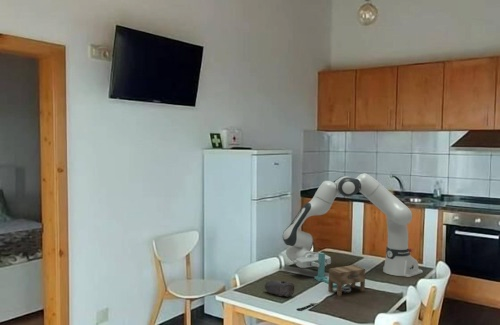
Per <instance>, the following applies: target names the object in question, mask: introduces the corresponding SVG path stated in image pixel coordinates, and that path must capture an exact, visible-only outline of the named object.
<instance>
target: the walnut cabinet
mask: <svg viewBox="0 0 500 325" xmlns="http://www.w3.org/2000/svg"><path fill="white" fill-rule="evenodd" d="M328 280H329V284H328V286H327V288H328V292H330V293H331V292H333V291H334V288H333V283H335V284H337V288H336V295H337V296H339V297H340V296H342V294H343V292H342V285H344V286H345V285H350V288H356V284H357V283H359V291H360V292H362V293H363V292H365V290H366V289H365V288H366V285H365V284H366V283H365V282H366V268H364V267H361V266H358V265H355V264H351V265H345V266H338V267H332V268H329V269H328Z"/></svg>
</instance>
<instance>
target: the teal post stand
mask: <svg viewBox="0 0 500 325" xmlns="http://www.w3.org/2000/svg"><path fill="white" fill-rule="evenodd" d="M325 255H326V253H324V252H321V253H319V255H318V263H320V264H321V267H317V275H314V280H315V279H316V281H318V282H323V283H325V284H327V285H329V278H328V277H327V276H325V270H326V268H325V267H326V266H325ZM342 287H345V285H342ZM333 289H337V284H335V283H333Z"/></svg>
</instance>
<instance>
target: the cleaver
mask: <svg viewBox="0 0 500 325" xmlns="http://www.w3.org/2000/svg"><path fill="white" fill-rule="evenodd" d="M320 304H321V302H311V303H310V302H309V303H308V305H306V306H303V307H298V308H296V311H298V312H302V311H305V310H308V309H309V308H313V307H315V306H317V305H320Z"/></svg>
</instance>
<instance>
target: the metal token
mask: <svg viewBox="0 0 500 325" xmlns="http://www.w3.org/2000/svg"><path fill="white" fill-rule="evenodd" d="M342 293H346V294H347V293H352V287H351V286H350V287H349V286H344V287H342Z"/></svg>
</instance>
